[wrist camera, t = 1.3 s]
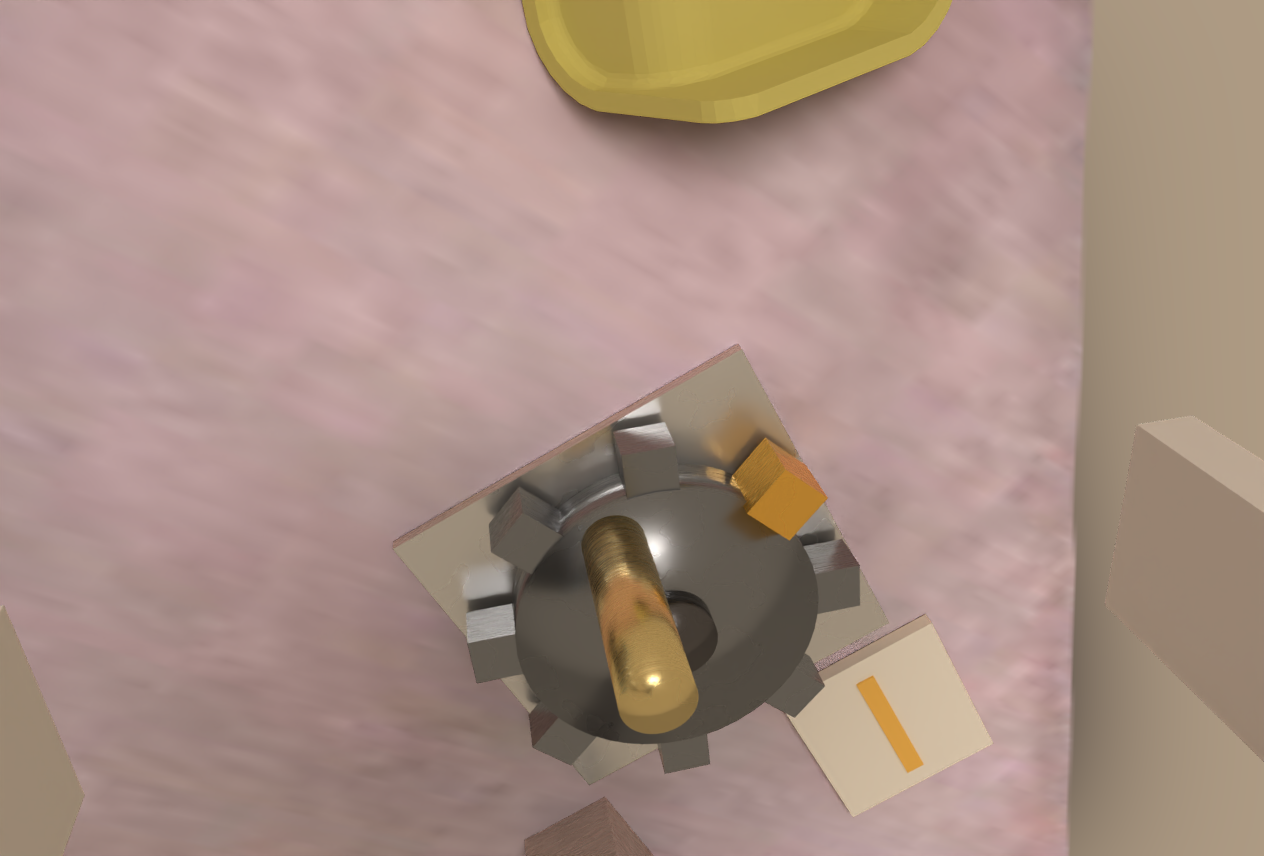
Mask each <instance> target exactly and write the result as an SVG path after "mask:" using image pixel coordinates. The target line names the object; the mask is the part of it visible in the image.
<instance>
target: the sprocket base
mask: <svg viewBox="0 0 1264 856" xmlns="http://www.w3.org/2000/svg"><path fill="white" fill-rule="evenodd" d="M662 422H665V424H666V426H667V428H668V431H669V433H670V435H671V437H672V440H673V442H674V444H675V447H676V456H677V463H687V464H695V465H704V466H708V467H712V468H716V469H720V470H723V471H726V472H728V473H731V474H734V473H735V472H736V471H737V469H738V468H739V467H740V466H741V465H742V464H743V463H744V461H745V460H746V459H747V458H748V457H749V456H750V454H751V453H752V452H753V451H754V450H755V449H756V447H757V446H758V445H759V444H760V443H761V442H762V441H763V439H764V438H765V437H766V438H767V439H768V440H770V441H771V442H773V443H774V444H776V445H777V446H779V447H780V448H782V449H783V450H785V451H786V452H787V453H789V454H790V455H792V456H793V457H795V458H796V459H798V460H799V461H801V462H802V460H801V458H800V456H799V454H798V453H797V451H796V449H795V447H794V445H793V443H792V441H791V440H790V438H789V436H788V434H787V432H786V430H785V428H784V427H783V425H782V423H781V421H780V419H779V417H778V415H777V414H776V412H775V410H774V408H773V406H772V404H771V402H770V401H769V399H768V397H767V395H766V393H765V391H764V389H763V388H762V386H761V384H760V382H759V380H758V378H757V376H756V375H755V373H754V371H753V369H752V367H751V365H750V363H749V362H748V360H747V358H746V356H745V354H744V352H743V350H742V349H741V347H740V346H739V344H737V345H735V346H733V347H731V348H730V349H728V350H726V351H724V352H723V353H721V354H719V355H718V356H716V357H714V358H712V359H711V360H709V361H707V362H705V363H704V364H702V365H700V366H698V367H697V368H695V369H693V370H691V371H690V372H688V373H686V374H684V375H683V376H681V377H679V378H677V379H676V380H674V381H672V382H670V383H669V384H667V385H665V386H664V387H662V388H660V389H658V390H657V391H655V392H653V393H651V394H650V395H648V396H646V397H644V398H643V399H641V400H639V401H637V402H636V403H634V404H632V405H630V406H629V407H627V408H625V409H623V410H622V411H620V412H618V413H616V414H615V415H613V416H611V417H610V418H608V419H606V420H604V421H603V422H601V423H599V424H597V425H596V426H594V427H592V428H590V429H589V430H587V431H585V432H583V433H582V434H580V435H578V436H576V437H575V438H573V439H571V440H569V441H568V442H566V443H564V444H562V445H561V446H559V447H557V448H556V449H554V450H552V451H550V452H549V453H547V454H545V455H543V456H542V457H540V458H538V459H536V460H535V461H533V462H531V463H529V464H528V465H526V466H524V467H522V468H521V469H519V470H517V471H515V472H514V473H512V474H510V475H508V476H507V477H505V478H503V479H502V480H500V481H498V482H496V483H495V484H493V485H491V486H489V487H488V488H486V489H484V490H482V491H481V492H479V493H477V494H475V495H474V496H472V497H470V498H468V499H467V500H465V501H463V502H461V503H460V504H458V505H456V506H455V507H453V508H451V509H449V510H448V511H446V512H444V513H442V514H441V515H439V516H437V517H435V518H434V519H432V520H430V521H428V522H427V523H425V524H423V525H421V526H420V527H418V528H416V529H414V530H413V531H411V532H409V533H407V534H406V535H404V536H402V537H401V538H399V539H397V540H395V541H394V542H393V550H394V551H395V552H396V554H397V555H398V556H399V557H400V558H401V560H402V561H403V562H404V563H405V564H406V566H407V567H408V568H409V569H410V570H411V572H412V573H413V574H414V575H415V576H416V578H417V579H418V580H419V581H420V582H421V584H422V585H423V586H424V587H425V588H426V590H427V591H428V592H429V593H430V594H431V596H432V597H433V598H434V599H435V600H436V602H437V603H438V604H439V605H440V606H441V608H442V609H443V610H444V611H445V612H446V614H447V615H448V616H449V617H450V618H451V620H452V621H453V622H454V623H455V624H456V626H457V627H458V628H459V629H460V631H461V632H462V633H463V634H464V635H465V637H466V638H467V620H466V613H467V612H472V611H477V610H482V609H487V608H492V607H497V606H502V605H507V604H512V590H513V584H514V579H515V574H516V571H517V568H518V567H517V566H515V565H513V564H511V563H510V562H508V561H506V560H504V559H502V558H500V557H499V556H497V555H495V554H493V553H491V546H490V535H489V523H490V522H491V521H492V519H493V518H494V517H495V516H496V514H497V513H498V512H499V511H500V509H501V508H502V507H503V506H504V504H505V503H506V502H507V501H508V499H509V498H510V497H511V496H512V494H513V493H514V492H515V490H516V489H517V488H518V487H521V488H523V489H524V490H526V491H528V492H529V493H531V494H533V495H535V496H536V497H538V498H540V499H541V500H543V501H545V502H547V503H548V504H550V505H552V506H553V507H555V508H558V507H559V506H560V505H562V504H563V503H564V502H565V501H566V500H568V499H569V498H570V497H572V496H573V495H575V494H576V493H578V492H579V491H581V490H582V489H584V488H586V487H587V486H589V485H591V484H593V483H595V482H597V481H599V480H601V479H603V478H605V477H608V476H611V475H613V474H616V473H619V471H618V464H617V457H616V449H615V442H614V435H613V431H618V430H624V429H629V428H635V427H640V426H646V425H651V424H657V423H662ZM802 463H803V462H802ZM796 535H797V537H798V538H799V540H800V542H801V543H802V545H803V546H808V545H813V544H818V543H823V542H828V541H833V540H838V539H843V541H844V542H845V540H844V538H843V536H842V534H841V532H840V531H839V529H838V527H837V525H836V523H835V521H834V519H833V518H832V516H831V514H830V512H829V510H828V508H827V506H826V505H825V503H823V504H822V505H821V506H820V507H819V509H818V510H817V511H816V512H815V513H814V514H813V515H812V516H811V517H810V519H809V520H808V521H807V522H806V523H805V524H804V525H803V526H802V527H801V528H800V530H799V531H798V532H797V533H796ZM845 544H846V542H845ZM846 545H847V544H846ZM847 547H848V545H847ZM848 548H849V547H848ZM849 550H850V549H849ZM888 623H889V622H888V620H887V618H886V616H885V614H884V612H883V610H882V609H881V607H880V605H879V603H878V601H877V599H876V597H875V596H874V594H873V592H872V590H871V588H870V586H869V584H868V583H867V581H866V579H865V577H864V575H863V573H862V571H861V570H860V606H855V607H850V608H845V609H840V610H835V611H830V612H826V613H821V614H817V619H816V624H815V629H814V632H813V635H812V638H811V641H810V643H809V646H808V648H807V650H806V652H805V654H807V655H809V656H810V657H811V659H812V661H813V663H816V662H818V661H820V660H821V659H823V658H825V657H827V656H829V655H831V654H833V653H834V652H836V651H838V650H840V649H842V648H844V647H845V646H847V645H849V644H851V643H853V642H855V641H857V640H858V639H860V638H862V637H864V636H866V635H868V634H869V633H871V632H873V631H875V630H877V629H879V628H881V627H882V626H884V625H886V624H888ZM501 680H502V681H503V682H504V683H505V685H506V686H507V687H508V688H509V689H510V691H511V692H512V693H513V694H514V695H515V697H516V698H517V699H518V700H519V701H520V703H521V704H522V705H523V706H524V707H525V709H526V710H527V711H528V712H529V713H530V712H531V711H532V710H533V709H534V708H535V707H536V706H537V704H538V703H539V702H540V700H539V699H538V698H537V696H536V695H535V694H534V692H533V691H532V689H531V688H530V686H529V685H528V683H527V681H526V678H525V676H524V674H521V675H516V676H511V677H506V678H501ZM657 748H658V746H657V744H630V743H622V742H616V741H610V740H606V739H603V738H599V737H596V738H595V739H594V740H593V742H592V743H591V744H590V745H589V746H588V747H587V748H586V749H585V751H584V752H583V753H582V754H581V755H580V756H579V757H578V758H577V759H576V761H575V762H574V763H573V764H572V765H573V766H574V768H575V769H576V770H577V771H578V772H579V774H580V775H581V776H582V777H583V778H584V780H585V781H586V782H587V783H588V784H589V785H591V784H593V783H594V782H596V781H598V780H600V779H602V778H604V777H605V776H607V775H609V774H611V773H613V772H615V771H617V770H618V769H620V768H622V767H624V766H626V765H628V764H629V763H631V762H633V761H635V760H637V759H639V758H641V757H642V756H644V755H646V754H648V753H650V752H652V751H653V750H655V749H657Z"/></svg>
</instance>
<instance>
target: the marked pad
mask: <svg viewBox="0 0 1264 856" xmlns="http://www.w3.org/2000/svg"><path fill="white" fill-rule="evenodd" d="M818 673H819V675H820V677H821V679H822V681H823V683H824V685H825V687H824V688H823V689H822V690H821V691H820V692H819V693H818V694H817V695H816V696H815V697H814V698H813V699H812V700H811V701H810V702H809V703H808V704H807V706H806V707H805V708H804V709H803V710H802V711H801V712H800V713H799V714H798V715H797V716H796V717H795V718H794V717H792V716H790V715H788V714H786V715H787V716H788V718H789V719H790V721H791V722H792V724H793V725H794V727H795V729H796V730H797V732H798V733H799V735H800V736H801V738H802V739H803V741H804V742H805V744H806V745H807V747H808V749H809V750H810V752H811V753H812V755H813V756H814V758H815V759H816V761H817V762H818V764H819V766H820V767H821V769H822V770H823V772H824V773H825V775H826V776H827V778H828V779H829V781H830V783H831V784H832V786H833V787H834V789H835V790H836V792H837V793H838V795H839V796H840V798H841V800H842V801H843V803H844V804H845V806H846V807H847V809H848V810H849V812H850V813H851V815H852V816H853V817H855V816H856V815H858V814H860V813H862V812H864V811H866V810H868V809H870V808H872V807H874V806H875V805H877V804H879V803H881V802H883V801H885V800H887V799H889V798H891V797H893V796H894V795H896V794H898V793H900V792H902V791H904V790H906V789H908V788H910V787H912V786H913V785H915V784H917V783H919V782H921V781H923V780H925V779H927V778H929V777H931V776H932V775H934V774H936V773H938V772H940V771H942V770H944V769H946V768H948V767H950V766H951V765H953V764H955V763H957V762H959V761H961V760H963V759H965V758H967V757H969V756H970V755H972V754H974V753H976V752H978V751H980V750H982V749H984V748H986V747H988V746H989V745H991V744H993V742H992V740H991V738H990V736H989V734H988V732H987V730H986V728H985V726H984V724H983V722H982V721H981V719H980V717H979V715H978V713H977V711H976V709H975V707H974V705H973V703H972V701H971V699H970V697H969V695H968V693H967V691H966V689H965V687H964V685H963V683H962V681H961V679H960V677H959V675H958V673H957V671H956V669H955V668H954V666H953V664H952V662H951V660H950V658H949V656H948V654H947V652H946V650H945V648H944V646H943V644H942V642H941V640H940V638H939V636H938V634H937V632H936V630H935V628H934V626H933V624H932V623H931V621H930V620H929V618H928V617H927V615H926V614H925V615H923V616H921V617H919V618H917V619H916V620H914V621H912V622H910V623H908V624H906V625H904V626H903V627H901V628H899V629H897V630H895V631H893V632H892V633H890V634H888V635H886V636H884V637H882V638H880V639H879V640H877V641H875V642H873V643H871V644H869V645H868V646H866V647H864V648H862V649H860V650H858V651H856V652H855V653H853V654H851V655H849V656H847V657H845V658H843V659H842V660H840V661H838V662H836V663H834V664H832V665H831V666H829V667H827V668H825V669H823V670H821V671H819V672H818Z"/></svg>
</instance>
